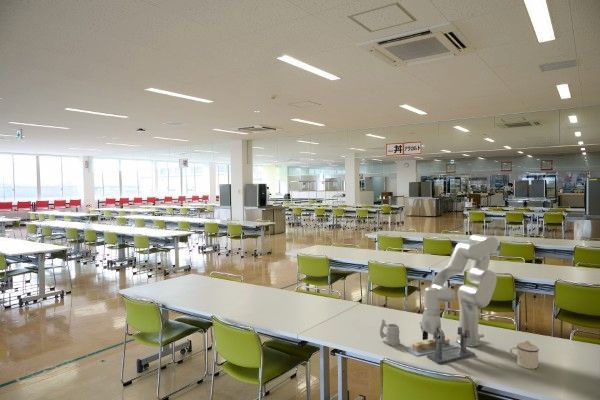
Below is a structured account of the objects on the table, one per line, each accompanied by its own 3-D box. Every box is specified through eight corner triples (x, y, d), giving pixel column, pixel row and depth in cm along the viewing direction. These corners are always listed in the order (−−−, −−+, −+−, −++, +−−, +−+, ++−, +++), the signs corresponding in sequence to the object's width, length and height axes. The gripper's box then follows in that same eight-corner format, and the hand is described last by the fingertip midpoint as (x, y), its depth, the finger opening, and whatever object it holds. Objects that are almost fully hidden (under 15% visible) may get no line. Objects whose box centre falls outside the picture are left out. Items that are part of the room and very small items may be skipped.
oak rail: (445, 342, 209) (445, 337, 209) (449, 344, 206) (449, 339, 206) (412, 349, 201) (412, 343, 201) (416, 351, 198) (416, 345, 198)
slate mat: (445, 340, 214) (445, 339, 214) (458, 347, 204) (458, 346, 204) (403, 348, 203) (403, 347, 203) (416, 356, 194) (416, 355, 194)
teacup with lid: (539, 364, 185) (539, 340, 185) (537, 371, 178) (538, 346, 177) (511, 357, 192) (511, 334, 192) (508, 364, 185) (508, 340, 184)
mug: (396, 347, 204) (396, 325, 204) (376, 341, 212) (376, 320, 212) (402, 343, 210) (402, 321, 210) (383, 337, 218) (383, 316, 218)
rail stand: (463, 349, 202) (463, 325, 201) (475, 355, 194) (475, 330, 194) (426, 357, 192) (427, 331, 192) (438, 364, 185) (438, 337, 185)
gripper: (415, 307, 209) (415, 338, 210) (437, 317, 193) (437, 350, 194) (426, 305, 212) (425, 336, 213) (449, 315, 196) (449, 348, 197)
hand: (431, 342), depth 203 cm, fingers open, 9 cm apart
